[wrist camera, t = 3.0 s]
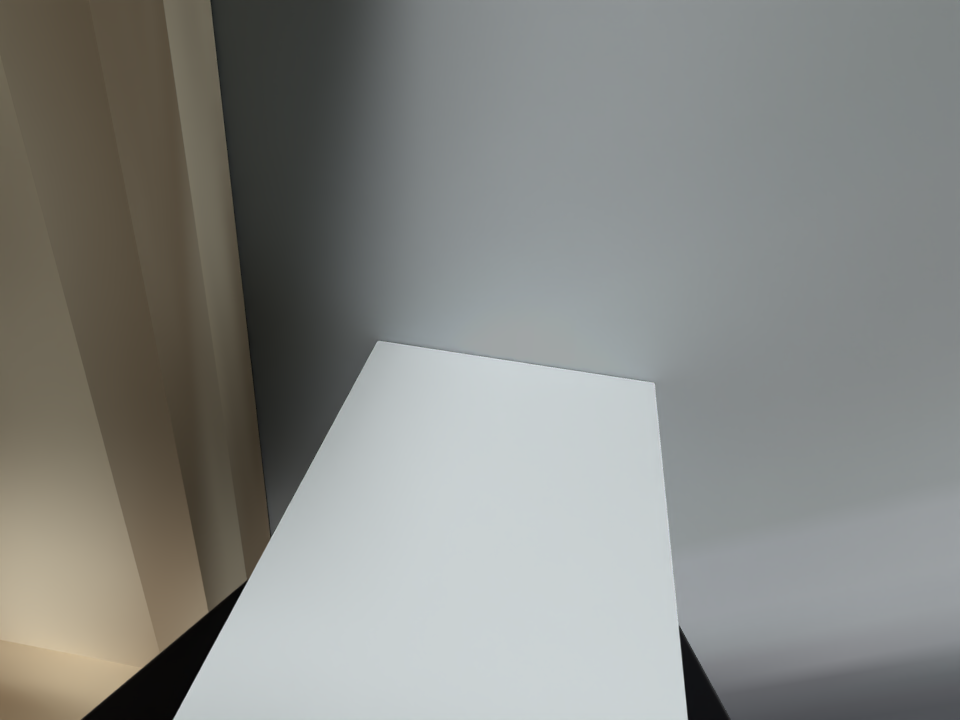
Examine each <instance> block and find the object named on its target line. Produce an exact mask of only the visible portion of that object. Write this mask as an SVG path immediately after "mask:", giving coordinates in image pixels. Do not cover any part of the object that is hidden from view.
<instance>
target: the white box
mask: <svg viewBox="0 0 960 720" xmlns="http://www.w3.org/2000/svg"><path fill="white" fill-rule="evenodd" d="M173 720H688V716H687V706H686V696H685V686H684V676H683V666H682V656H681V645H680V635H679V625H678V615H677V605H676V595H675V585H674V574H673V564H672V554H671V544H670V534H669V524H668V514H667V503H666V493H665V483H664V473H663V463H662V453H661V443H660V433H659V422H658V412H657V402H656V392H655V383H652V382H646V381H639V380H633V379H626V378H620V377H613V376H606V375H600V374H593V373H587V372H580V371H574V370H567V369H561V368H554V367H548V366H541V365H534V364H528V363H521V362H515V361H508V360H502V359H495V358H489V357H482V356H475V355H469V354H462V353H456V352H449V351H443V350H436V349H430V348H423V347H416V346H410V345H403V344H397V343H390V342H384V341H377V343H376V345H375V346H374V348H373V350H372V352H371V354H370V356H369V358H368V359H367V361H366V363H365V365H364V367H363V369H362V371H361V372H360V374H359V376H358V378H357V380H356V382H355V384H354V385H353V387H352V389H351V391H350V393H349V395H348V397H347V398H346V400H345V402H344V404H343V406H342V408H341V409H340V411H339V413H338V415H337V417H336V419H335V421H334V422H333V424H332V426H331V428H330V430H329V432H328V434H327V435H326V437H325V439H324V441H323V443H322V445H321V447H320V448H319V450H318V452H317V454H316V456H315V458H314V460H313V461H312V463H311V465H310V467H309V469H308V471H307V473H306V474H305V476H304V478H303V480H302V482H301V484H300V485H299V487H298V489H297V491H296V493H295V495H294V497H293V498H292V500H291V502H290V504H289V506H288V508H287V510H286V511H285V513H284V515H283V517H282V519H281V521H280V523H279V524H278V526H277V528H276V530H275V532H274V534H273V536H272V537H271V539H270V541H269V543H268V545H267V547H266V549H265V550H264V552H263V554H262V556H261V558H260V560H259V561H258V563H257V565H256V567H255V569H254V571H253V573H252V574H251V576H250V578H249V580H248V582H247V584H246V586H245V587H244V589H243V591H242V593H241V595H240V597H239V599H238V600H237V602H236V604H235V606H234V608H233V610H232V612H231V613H230V615H229V617H228V619H227V621H226V623H225V624H224V626H223V628H222V630H221V632H220V634H219V636H218V637H217V639H216V641H215V643H214V645H213V647H212V649H211V650H210V652H209V654H208V656H207V658H206V660H205V662H204V663H203V665H202V667H201V669H200V671H199V673H198V675H197V676H196V678H195V680H194V682H193V684H192V686H191V688H190V689H189V691H188V693H187V695H186V697H185V699H184V700H183V702H182V704H181V706H180V708H179V710H178V712H177V713H176V715H175V717H174V719H173Z"/></svg>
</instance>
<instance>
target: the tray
mask: <svg viewBox="0 0 960 720" xmlns="http://www.w3.org/2000/svg"><path fill="white" fill-rule="evenodd" d="M270 539H271V538H270V529H269V520H268V511H267V503H266V494H265V485H264V476H263V467H262V458H261V449H260V440H259V431H258V422H257V413H256V404H255V395H254V387H253V378H252V369H251V360H250V351H249V342H248V333H247V324H246V315H245V306H244V297H243V288H242V279H241V270H240V262H239V253H238V244H237V235H236V226H235V217H234V208H233V199H232V190H231V181H230V172H229V163H228V154H227V146H226V137H225V128H224V119H223V110H222V101H221V92H220V83H219V74H218V65H217V56H216V47H215V38H214V30H213V21H212V12H211V3H210V0H0V720H81V719H82V718H83V717H84V716H86V715H87V714H88V713H89V712H90V711H92V710H93V709H94V708H95V707H96V706H98V705H99V704H100V703H101V702H102V701H103V700H105V699H106V698H107V697H108V696H109V695H111V694H112V693H113V692H114V691H115V690H117V689H118V688H119V687H120V686H121V685H123V684H124V683H125V682H126V681H127V680H128V679H130V678H131V677H132V676H133V675H134V674H136V673H137V672H138V671H139V670H140V669H142V668H143V667H144V666H145V665H146V664H148V663H149V662H150V661H151V660H152V659H153V658H155V657H156V656H157V655H158V654H159V653H161V652H162V651H163V650H164V649H165V648H167V647H168V646H169V645H170V644H171V643H173V642H174V641H175V640H176V639H177V638H179V637H180V636H181V635H182V634H183V633H184V632H186V631H187V630H188V629H189V628H190V627H192V626H193V625H194V624H195V623H196V622H198V621H199V620H200V619H201V618H202V617H204V616H205V615H206V614H207V613H208V612H209V611H211V610H212V609H213V608H214V607H215V606H217V605H218V604H219V603H220V602H221V601H223V600H224V599H225V598H226V597H227V596H229V595H230V594H231V593H232V592H233V591H234V590H236V589H237V588H238V587H239V586H240V585H242V584H243V583H244V582H245V581H246V580H248V579H249V578H250V576H251V574H252V573H253V571H254V569H255V567H256V565H257V563H258V561H259V560H260V558H261V556H262V554H263V552H264V550H265V549H266V547H267V545H268V543H269V541H270Z"/></svg>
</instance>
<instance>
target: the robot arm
mask: <svg viewBox="0 0 960 720" xmlns="http://www.w3.org/2000/svg"><path fill="white" fill-rule="evenodd" d="M248 580H249V579H248ZM248 580H246V581H245V582H244V583H243V584H242V585H240V586H239V587H238V588H237V589H236V590H234V591H233V592H232V593H231V594H230V595H229V596H227V597H226V598H225V599H224V600H223V601H221V602H220V603H219V604H218V605H217V606H215V607H214V608H213V609H212V610H211V611H209V612H208V613H207V614H206V615H205V616H204V617H202V618H201V619H200V620H199V621H198V622H196V623H195V624H194V625H193V626H192V627H190V628H189V629H188V630H187V631H186V632H184V633H183V634H182V635H181V636H180V637H179V638H177V639H176V640H175V641H174V642H173V643H171V644H170V645H169V646H168V647H167V648H165V649H164V650H163V651H162V652H161V653H159V654H158V655H157V656H156V657H155V658H153V659H152V660H151V661H150V662H149V663H148V664H146V665H145V666H144V667H143V668H142V669H140V670H139V671H138V672H137V673H136V674H134V675H133V676H132V677H131V678H130V679H128V680H127V681H126V682H125V683H124V684H123V685H121V686H120V687H119V688H118V689H117V690H115V691H114V692H113V693H112V694H111V695H109V696H108V697H107V698H106V699H105V700H103V701H102V702H101V703H100V704H99V705H98V706H96V707H95V708H94V709H93V710H92V711H90V712H89V713H88V714H87V715H86V716H84V717H83V718H82V719H81V720H173V719H174V717H175V715H176V713H177V712H178V710H179V708H180V706H181V704H182V702H183V700H184V699H185V697H186V695H187V693H188V691H189V689H190V688H191V686H192V684H193V682H194V680H195V678H196V676H197V675H198V673H199V671H200V669H201V667H202V665H203V663H204V662H205V660H206V658H207V656H208V654H209V652H210V650H211V649H212V647H213V645H214V643H215V641H216V639H217V637H218V636H219V634H220V632H221V630H222V628H223V626H224V624H225V623H226V621H227V619H228V617H229V615H230V613H231V612H232V610H233V608H234V606H235V604H236V602H237V600H238V599H239V597H240V595H241V593H242V591H243V589H244V587H245V586H246V584H247V582H248ZM678 625H679V624H678ZM679 635H680V645H681V656H682V666H683V676H684V686H685V696H686V706H687V716H688V720H731V719H730V717H729V715H728V714H727V712H726V710H725V708H724V706H723V704H722V703H721V701H720V699H719V697H718V695H717V693H716V692H715V690H714V688H713V686H712V684H711V683H710V681H709V679H708V677H707V675H706V673H705V672H704V670H703V668H702V666H701V664H700V662H699V661H698V659H697V657H696V655H695V653H694V652H693V650H692V648H691V646H690V644H689V642H688V641H687V639H686V637H685V635H684V633H683V631H682V630H681V628H680V626H679Z"/></svg>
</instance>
